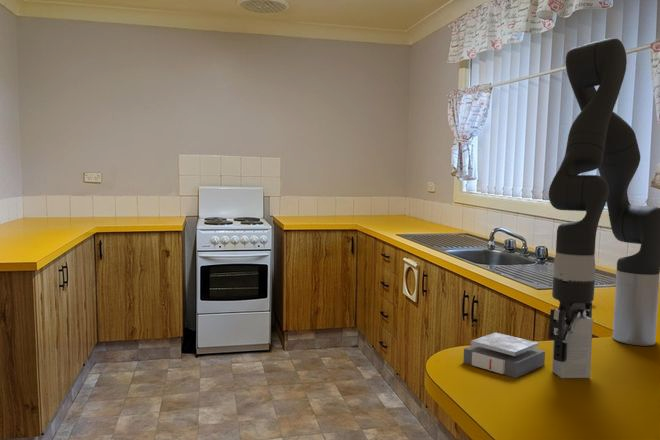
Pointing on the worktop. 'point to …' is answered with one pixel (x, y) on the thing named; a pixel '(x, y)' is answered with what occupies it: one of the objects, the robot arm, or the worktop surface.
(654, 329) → the robot arm
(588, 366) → the skincare box
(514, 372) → the scale base
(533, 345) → the pan
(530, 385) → the worktop surface
